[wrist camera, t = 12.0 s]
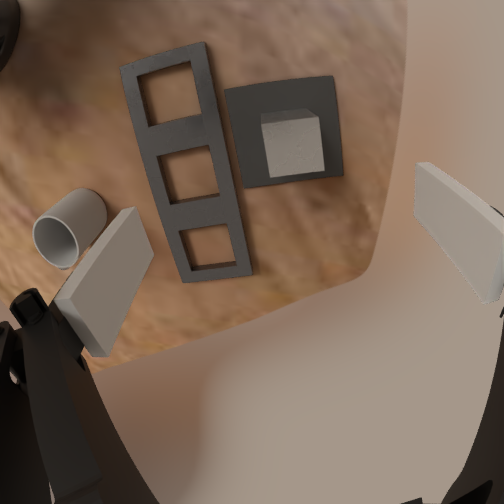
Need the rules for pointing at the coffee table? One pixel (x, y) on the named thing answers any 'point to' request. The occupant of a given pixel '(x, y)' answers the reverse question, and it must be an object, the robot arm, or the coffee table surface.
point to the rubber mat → (274, 100)
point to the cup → (69, 227)
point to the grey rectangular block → (292, 142)
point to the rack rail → (180, 138)
